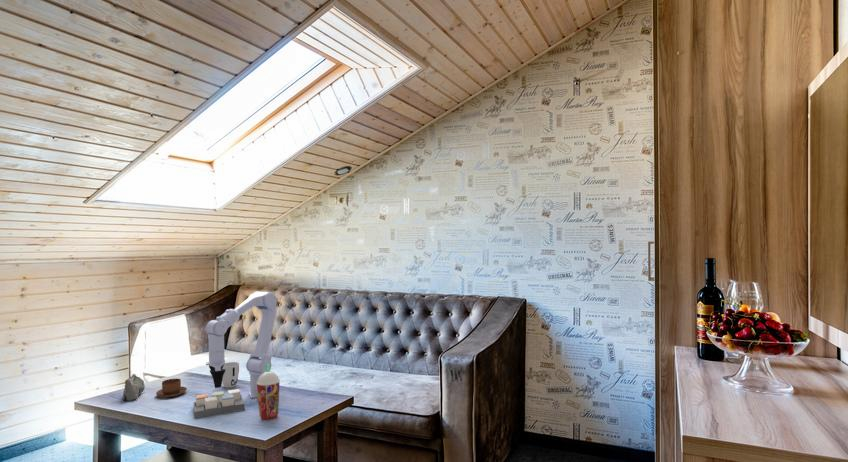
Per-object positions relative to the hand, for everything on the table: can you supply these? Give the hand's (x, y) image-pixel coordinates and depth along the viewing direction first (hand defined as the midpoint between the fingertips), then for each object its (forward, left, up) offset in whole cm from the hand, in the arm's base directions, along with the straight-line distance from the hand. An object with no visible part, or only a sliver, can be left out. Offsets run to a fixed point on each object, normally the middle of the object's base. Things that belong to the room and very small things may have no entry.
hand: (217, 385), depth 202 cm
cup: (-7, -31, -10) cm, 33 cm away
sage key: (0, -3, -8) cm, 8 cm away
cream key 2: (-6, -3, -8) cm, 10 cm away
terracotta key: (+6, -3, -8) cm, 10 cm away
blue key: (-3, +3, -8) cm, 9 cm away
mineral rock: (+31, -36, -10) cm, 49 cm away
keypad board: (0, 0, -10) cm, 10 cm away
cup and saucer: (+17, -30, -10) cm, 36 cm away
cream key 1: (+3, +3, -8) cm, 9 cm away
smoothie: (-16, +20, -10) cm, 28 cm away
